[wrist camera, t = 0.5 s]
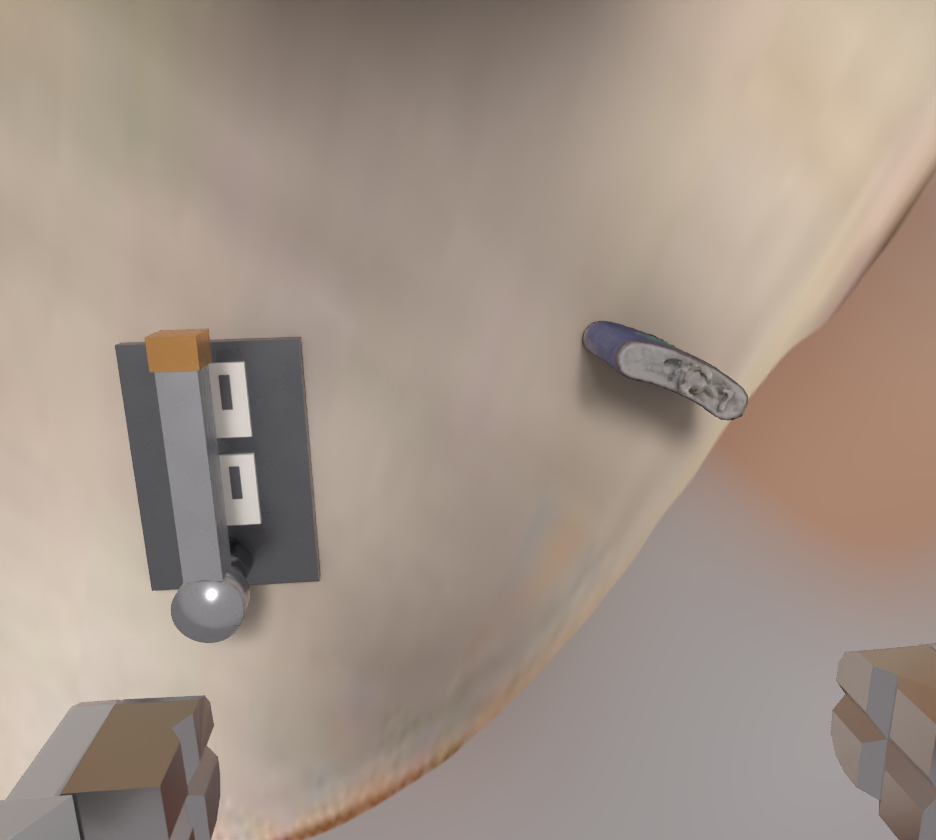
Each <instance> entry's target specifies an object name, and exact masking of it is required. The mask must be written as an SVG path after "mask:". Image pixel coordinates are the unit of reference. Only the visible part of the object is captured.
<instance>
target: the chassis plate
mask: <svg viewBox="0 0 936 840" xmlns="http://www.w3.org/2000/svg"><path fill="white" fill-rule="evenodd" d="M210 346H211V355H212V362H211V363H220V362H245V368H246V377H247V387H248V397H249V406H250V416H251V426H252V437H231V438H217V443H218V451H219V455H225V454H248V453H254V455H255V464H256V474H257V484H258V493H259V503H260V513H261V524H247V525H228V526H227V528H228V537H229V543H237V544H240V545H242V546H244V547H246V548H247V549H248V550H249V552H250V553H251V555H252V558H253V565H252V568H251V570H250V572H249V574H248V577H247V579H246V580H247V582H248V584H249V585H257V584H274V583H291V582H309V581H319V578H320V565H319V553H318V541H317V529H316V517H315V505H314V492H313V480H312V468H311V456H310V444H309V431H308V419H307V407H306V395H305V383H304V371H303V358H302V346H301V337H284V338H253V339H223V340H210ZM115 349H116V356H117V362H118V369H119V376H120V382H121V389H122V396H123V402H124V409H125V415H126V422H127V429H128V435H129V442H130V449H131V455H132V462H133V469H134V475H135V482H136V488H137V495H138V502H139V508H140V515H141V522H142V528H143V535H144V542H145V548H146V555H147V561H148V568H149V575H150V581H151V588H152V591H153V590H170V589H180V587H181V585H182V584H183V577H182V570H181V562H180V555H179V548H178V540H177V533H176V526H175V519H174V511H173V504H172V497H171V490H170V482H169V475H168V468H167V460H166V453H165V446H164V439H163V431H162V424H161V417H160V410H159V402H158V395H157V388H156V380H155V373H154V372H149V365H148V358H147V351H146V344H145V342H132V343H119V344H117V345H115Z"/></svg>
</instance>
